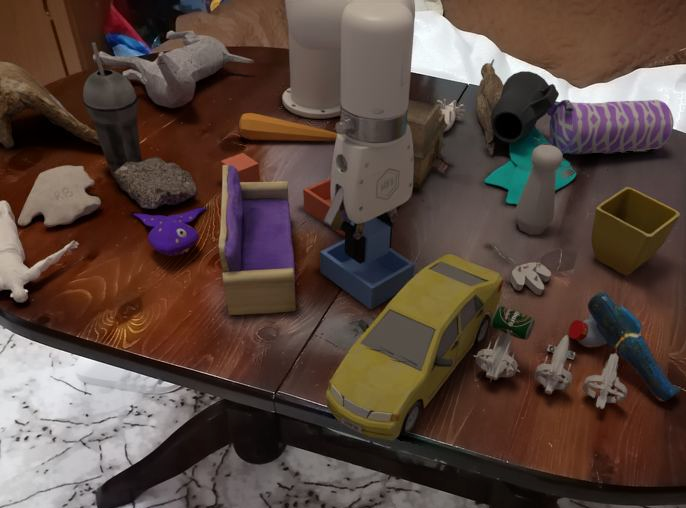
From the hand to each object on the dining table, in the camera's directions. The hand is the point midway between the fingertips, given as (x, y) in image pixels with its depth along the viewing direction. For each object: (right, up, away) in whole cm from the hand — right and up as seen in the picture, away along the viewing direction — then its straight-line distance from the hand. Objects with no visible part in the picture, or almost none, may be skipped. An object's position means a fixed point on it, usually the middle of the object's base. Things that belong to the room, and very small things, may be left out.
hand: (368, 249), depth 94 cm
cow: (+11, +29, +32) cm, 45 cm away
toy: (-28, +2, +6) cm, 29 cm away
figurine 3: (+36, -19, -9) cm, 42 cm away
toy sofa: (-15, -2, +4) cm, 15 cm away
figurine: (-51, +5, +2) cm, 51 cm away
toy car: (+6, -15, -8) cm, 18 cm away
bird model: (+23, +30, +40) cm, 55 cm away
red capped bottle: (+33, -9, -1) cm, 34 cm away
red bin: (-4, +7, +14) cm, 16 cm away
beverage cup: (-38, +14, +17) cm, 45 cm away
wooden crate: (+4, +17, +25) cm, 30 cm away
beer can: (+15, -9, -10) cm, 20 cm away
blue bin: (0, -3, +4) cm, 5 cm away
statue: (-42, +44, +37) cm, 71 cm away
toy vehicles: (+22, -16, -7) cm, 28 cm away
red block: (-21, +12, +17) cm, 30 cm away
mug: (+27, +32, +32) cm, 53 cm away
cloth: (+26, +18, +28) cm, 43 cm away
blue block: (0, 0, 0) cm, 0 cm away
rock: (-50, +21, +26) cm, 61 cm away
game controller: (+20, -2, +8) cm, 22 cm away
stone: (-32, +10, +14) cm, 36 cm away
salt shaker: (+24, +6, +16) cm, 29 cm away
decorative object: (-41, +4, +6) cm, 42 cm away
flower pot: (+36, 0, +11) cm, 38 cm away
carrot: (-14, +21, +28) cm, 38 cm away
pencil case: (+41, +22, +29) cm, 55 cm away
